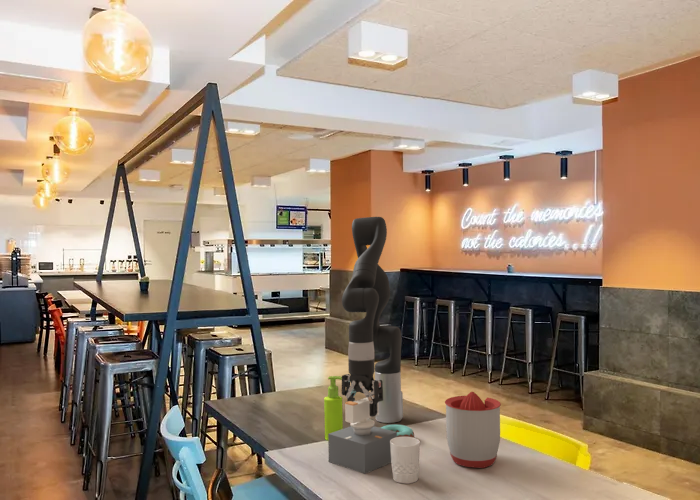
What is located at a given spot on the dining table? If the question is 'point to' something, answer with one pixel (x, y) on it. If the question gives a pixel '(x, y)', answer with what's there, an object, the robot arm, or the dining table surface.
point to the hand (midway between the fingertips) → (362, 413)
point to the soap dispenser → (333, 408)
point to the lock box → (360, 448)
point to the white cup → (405, 459)
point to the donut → (400, 430)
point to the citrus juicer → (473, 430)
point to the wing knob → (359, 414)
